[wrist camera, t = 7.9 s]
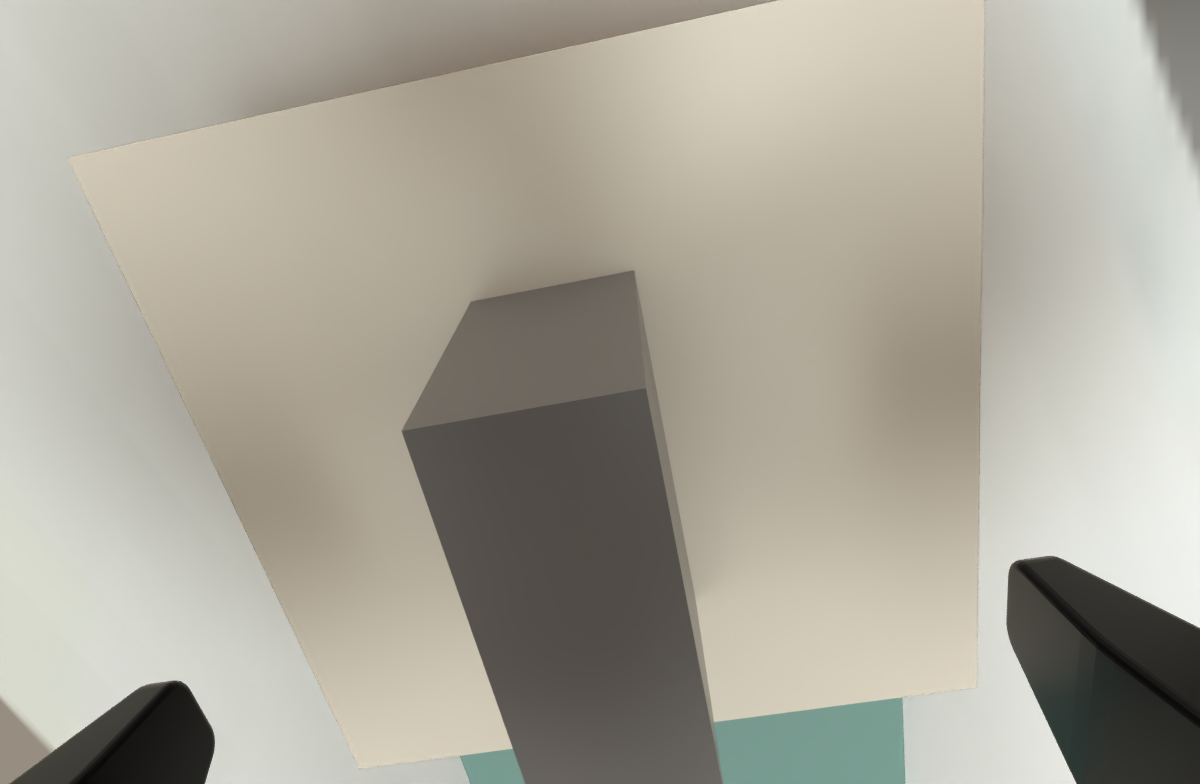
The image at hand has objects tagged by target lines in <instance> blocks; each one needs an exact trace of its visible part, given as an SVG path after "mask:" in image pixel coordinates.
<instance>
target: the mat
mask: <svg viewBox="0 0 1200 784" xmlns="http://www.w3.org/2000/svg"><path fill="white" fill-rule="evenodd" d="M714 725H715V732H716V739H717V745H718V752H719V759H720V765H721V772H722V778H723V784H905V765H904V737H903V709H902V697H901V698H893V699H886V700H878V701H871V702H863V703H856V704H848V705H840V706H833V707H825V708H818V709H810V710H803V711H795V712H787V713H780V714H772V715H765V716H757V717H750V718H742V719H734V720H727V721H719V722H714ZM460 757H461V760H462V762H463V765H464V768H465V770H466V773H467V775H468V778H469V781H470V783H471V784H525V782H524V779H523V776H522V773H521V771H520V768H519V765H518V762H517V759H516V756H515V753H514V751H513V749H507V750H500V751H492V752H485V753H477V754H470V755H462V756H460Z"/></svg>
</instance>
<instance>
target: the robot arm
mask: <svg viewBox="0 0 1200 784" xmlns="http://www.w3.org/2000/svg"><path fill="white" fill-rule="evenodd" d="M1007 631H1008V635H1009V639H1010V642H1011V645H1012V647H1013V650H1014V652H1015V654H1016V656H1017V658H1018V660H1019V662H1020V665H1021V667H1022V669H1023V671H1024V673H1025V675H1026V677H1027V679H1028V682H1029V684H1030V686H1031V688H1032V690H1033V692H1034V694H1035V697H1036V699H1037V701H1038V703H1039V705H1040V707H1041V709H1042V711H1043V714H1044V716H1045V718H1046V720H1047V722H1048V724H1049V726H1050V729H1051V731H1052V733H1053V735H1054V737H1055V739H1056V741H1057V743H1058V746H1059V748H1060V750H1061V752H1062V754H1063V756H1064V758H1065V761H1066V763H1067V765H1068V767H1069V769H1070V771H1071V773H1072V775H1073V777H1074V779H1075V781H1076V783H1077V784H1200V628H1199V627H1197V626H1195V625H1193V624H1191V623H1189V622H1187V621H1185V620H1183V619H1181V618H1179V617H1177V616H1175V615H1173V614H1171V613H1169V612H1167V611H1165V610H1163V609H1161V608H1159V607H1157V606H1155V605H1153V604H1151V603H1149V602H1147V601H1145V600H1143V599H1141V598H1139V597H1137V596H1135V595H1133V594H1131V593H1129V592H1127V591H1125V590H1123V589H1121V588H1119V587H1117V586H1115V585H1113V584H1111V583H1109V582H1107V581H1105V580H1103V579H1101V578H1099V577H1097V576H1095V575H1093V574H1091V573H1089V572H1087V571H1085V570H1083V569H1081V568H1079V567H1077V566H1075V565H1073V564H1071V563H1069V562H1067V561H1065V560H1063V559H1061V558H1058V557H1055V556H1045V557H1038V558H1031V559H1024V560H1018V561H1016V562H1014V563H1013V564H1012V565H1011V567H1010V569H1009V575H1008V598H1007ZM214 747H215V737H214V733H213V729H212V727H211V725H210V724H209V722H208V720H207V718H206V717H205V715H204V713H203V711H202V710H201V708H200V706H199V704H198V703H197V701H196V699H195V697H194V696H193V694H192V692H191V690H190V689H189V687H188V686H187V685H186V684H184V683H182V682H181V681H167V682H160V683H153V684H148V685H145V686H142V687H140V688H138V689H137V690H135V691H134V692H133V693H131V694H130V695H129V696H127V697H126V698H125V699H123V700H122V701H121V702H119V703H118V704H117V705H115V706H114V707H112V708H111V709H110V710H108V711H107V712H106V713H104V714H103V715H102V716H100V717H99V718H98V719H96V720H95V721H94V722H92V723H91V724H90V725H88V726H87V727H85V728H84V729H83V730H81V731H80V732H79V733H77V734H76V735H75V736H73V737H72V738H71V739H69V740H68V741H67V742H65V743H64V744H63V745H61V746H60V747H58V748H57V749H56V750H54V751H53V752H52V753H50V754H49V755H48V756H46V757H45V758H44V759H42V760H41V761H40V762H39V763H37V764H35V765H34V766H33V767H32V768H30V769H29V770H27V771H26V772H25V773H23V774H22V775H21V776H19V777H18V778H17V779H15V780H14V781H13V782H11V783H10V784H205V781H206V778H207V774H208V771H209V768H210V764H211V761H212V758H213V754H214Z"/></svg>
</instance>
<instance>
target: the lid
mask: <svg viewBox="0 0 1200 784" xmlns="http://www.w3.org/2000/svg"><path fill="white" fill-rule="evenodd" d="M984 28H985V0H777V1H773V2H768V3H764V4H759V5H755V6H750V7H746V8H741V9H737V10H732V11H728V12H723V13H718V14H714V15H709V16H705V17H700V18H696V19H691V20H687V21H682V22H678V23H673V24H669V25H664V26H660V27H655V28H651V29H646V30H642V31H637V32H633V33H628V34H624V35H619V36H615V37H610V38H606V39H601V40H597V41H592V42H587V43H583V44H578V45H574V46H569V47H565V48H560V49H556V50H551V51H547V52H542V53H538V54H533V55H529V56H524V57H520V58H515V59H511V60H506V61H502V62H497V63H493V64H488V65H484V66H479V67H475V68H470V69H466V70H461V71H457V72H452V73H447V74H443V75H438V76H434V77H429V78H425V79H420V80H416V81H411V82H407V83H402V84H398V85H393V86H389V87H384V88H380V89H375V90H371V91H366V92H362V93H357V94H353V95H348V96H344V97H339V98H335V99H330V100H326V101H321V102H316V103H312V104H307V105H303V106H298V107H294V108H289V109H285V110H280V111H276V112H271V113H267V114H262V115H258V116H253V117H249V118H244V119H240V120H235V121H231V122H226V123H222V124H217V125H213V126H208V127H204V128H199V129H195V130H190V131H185V132H181V133H176V134H172V135H167V136H163V137H158V138H154V139H149V140H145V141H140V142H136V143H131V144H127V145H122V146H118V147H113V148H109V149H104V150H100V151H95V152H91V153H86V154H82V155H77V156H73V157H68V161H69V163H70V165H71V167H72V169H73V171H74V173H75V175H76V177H77V179H78V181H79V184H80V186H81V188H82V190H83V192H84V194H85V196H86V198H87V200H88V202H89V204H90V207H91V209H92V211H93V213H94V215H95V217H96V219H97V221H98V223H99V225H100V227H101V230H102V232H103V234H104V236H105V238H106V240H107V242H108V244H109V246H110V248H111V250H112V253H113V255H114V257H115V259H116V261H117V263H118V265H119V267H120V269H121V271H122V273H123V276H124V278H125V280H126V282H127V284H128V286H129V288H130V290H131V292H132V294H133V296H134V299H135V301H136V303H137V305H138V307H139V309H140V311H141V313H142V315H143V317H144V319H145V322H146V324H147V326H148V328H149V330H150V332H151V334H152V336H153V338H154V340H155V342H156V345H157V347H158V349H159V351H160V353H161V355H162V357H163V359H164V361H165V363H166V365H167V368H168V370H169V372H170V374H171V376H172V378H173V380H174V382H175V384H176V386H177V388H178V391H179V393H180V395H181V397H182V399H183V401H184V403H185V405H186V407H187V409H188V411H189V414H190V416H191V418H192V420H193V422H194V424H195V426H196V428H197V430H198V432H199V434H200V437H201V439H202V441H203V443H204V445H205V447H206V449H207V451H208V453H209V455H210V457H211V460H212V462H213V464H214V466H215V468H216V470H217V472H218V474H219V476H220V478H221V480H222V483H223V485H224V487H225V489H226V491H227V493H228V495H229V497H230V499H231V501H232V503H233V506H234V508H235V510H236V512H237V514H238V516H239V518H240V520H241V522H242V524H243V526H244V529H245V531H246V533H247V535H248V537H249V539H250V541H251V543H252V545H253V547H254V549H255V552H256V554H257V556H258V558H259V560H260V562H261V564H262V566H263V568H264V570H265V572H266V575H267V577H268V579H269V581H270V583H271V585H272V587H273V589H274V591H275V593H276V595H277V598H278V600H279V602H280V604H281V606H282V608H283V610H284V612H285V614H286V616H287V618H288V621H289V623H290V625H291V627H292V629H293V631H294V633H295V635H296V637H297V639H298V641H299V644H300V646H301V648H302V650H303V652H304V654H305V656H306V658H307V660H308V662H309V664H310V667H311V669H312V671H313V673H314V675H315V677H316V679H317V681H318V683H319V685H320V687H321V690H322V692H323V694H324V696H325V698H326V700H327V702H328V704H329V706H330V708H331V710H332V713H333V715H334V717H335V719H336V721H337V723H338V725H339V727H340V729H341V731H342V733H343V736H344V738H345V740H346V742H347V744H348V746H349V748H350V750H351V752H352V754H353V756H354V759H355V761H356V763H357V765H358V767H359V769H364V768H371V767H379V766H386V765H394V764H401V763H409V762H417V761H424V760H432V759H439V758H447V757H454V756H462V755H470V754H477V753H485V752H492V751H500V750H507V749H513V751H514V753H515V756H516V759H517V762H518V765H519V768H520V771H521V773H522V776H523V779H524V782H525V784H723V778H722V772H721V765H720V759H719V752H718V745H717V739H716V732H715V725H714V722H719V721H727V720H734V719H742V718H750V717H757V716H765V715H772V714H780V713H787V712H795V711H803V710H810V709H818V708H825V707H833V706H840V705H848V704H856V703H863V702H871V701H878V700H886V699H893V698H901V697H909V696H916V695H924V694H931V693H939V692H946V691H954V690H962V689H969V688H977V637H978V550H979V463H980V376H981V289H982V202H983V115H984Z"/></svg>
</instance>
